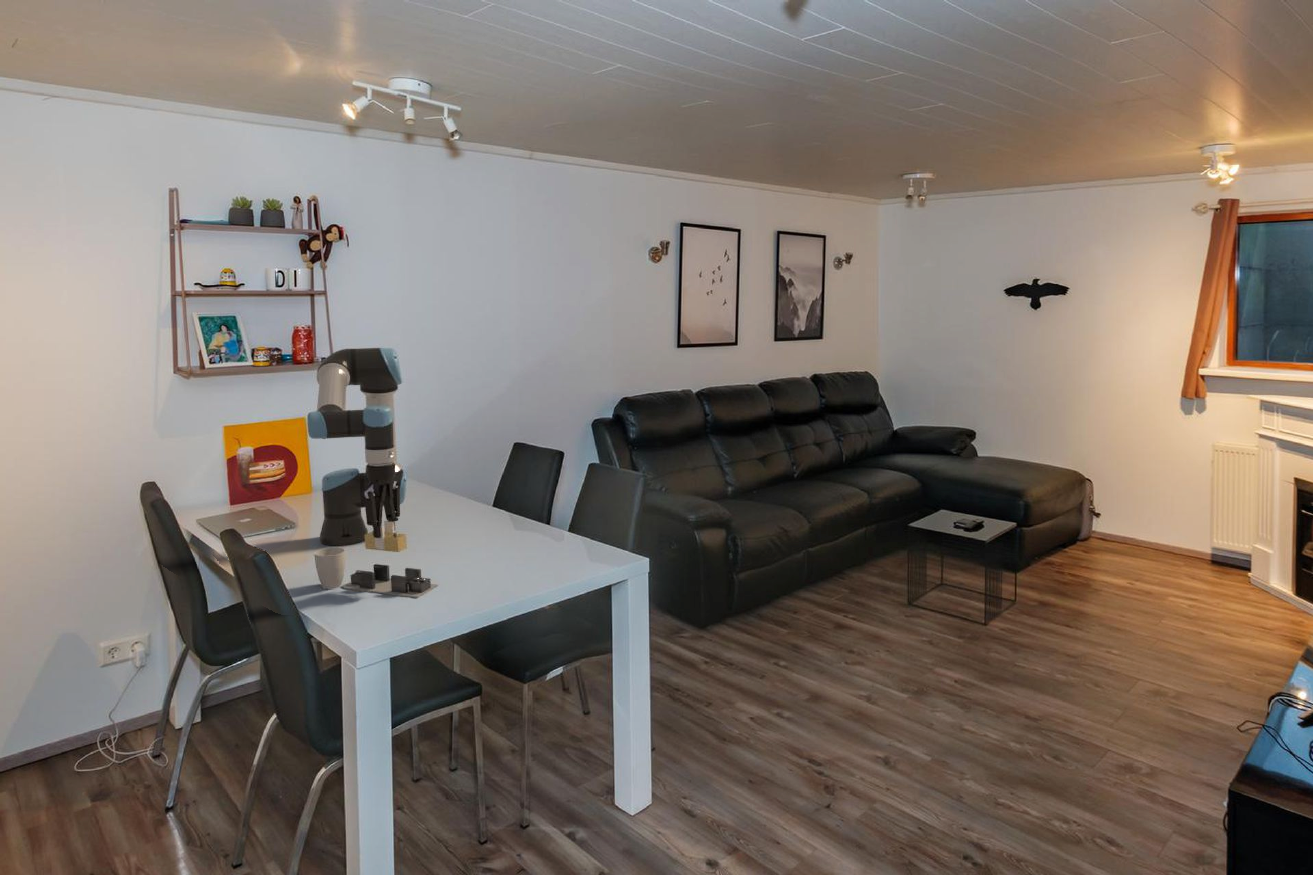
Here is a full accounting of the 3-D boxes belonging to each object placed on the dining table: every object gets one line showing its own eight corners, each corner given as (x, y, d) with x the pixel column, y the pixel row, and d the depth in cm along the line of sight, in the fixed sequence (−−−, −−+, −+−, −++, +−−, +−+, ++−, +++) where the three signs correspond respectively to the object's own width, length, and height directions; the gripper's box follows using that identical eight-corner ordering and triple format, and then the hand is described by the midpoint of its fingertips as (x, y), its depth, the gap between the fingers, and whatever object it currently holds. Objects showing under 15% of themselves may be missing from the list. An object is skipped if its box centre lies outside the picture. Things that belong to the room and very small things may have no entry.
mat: (343, 588, 230) (343, 587, 230) (366, 577, 240) (366, 575, 240) (417, 597, 223) (417, 596, 223) (438, 585, 232) (438, 584, 232)
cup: (336, 578, 238) (333, 545, 237) (353, 584, 234) (351, 550, 232) (310, 586, 232) (308, 552, 230) (327, 592, 227) (325, 557, 225)
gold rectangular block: (406, 548, 228) (405, 531, 228) (398, 552, 225) (397, 535, 224) (374, 545, 232) (372, 528, 231) (365, 548, 229) (364, 532, 228)
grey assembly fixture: (347, 585, 231) (346, 570, 231) (364, 577, 238) (363, 562, 238) (418, 594, 224) (417, 579, 223) (433, 585, 231) (433, 570, 230)
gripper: (371, 470, 216) (376, 556, 220) (411, 458, 231) (415, 539, 235) (348, 468, 218) (353, 553, 222) (389, 456, 234) (393, 536, 238)
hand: (385, 546), depth 229 cm, fingers closed on gold rectangular block, 4 cm apart
